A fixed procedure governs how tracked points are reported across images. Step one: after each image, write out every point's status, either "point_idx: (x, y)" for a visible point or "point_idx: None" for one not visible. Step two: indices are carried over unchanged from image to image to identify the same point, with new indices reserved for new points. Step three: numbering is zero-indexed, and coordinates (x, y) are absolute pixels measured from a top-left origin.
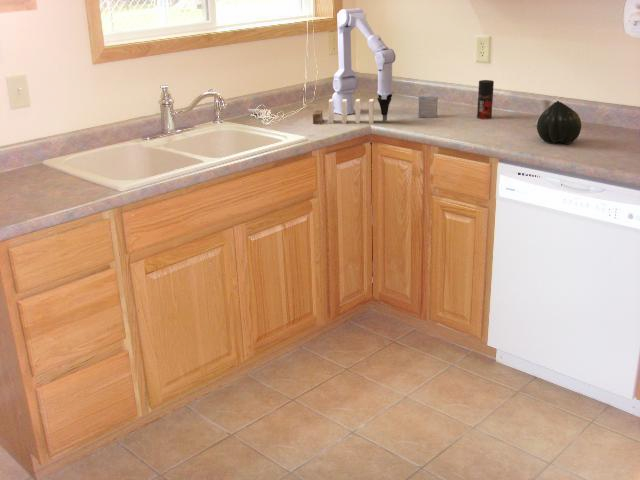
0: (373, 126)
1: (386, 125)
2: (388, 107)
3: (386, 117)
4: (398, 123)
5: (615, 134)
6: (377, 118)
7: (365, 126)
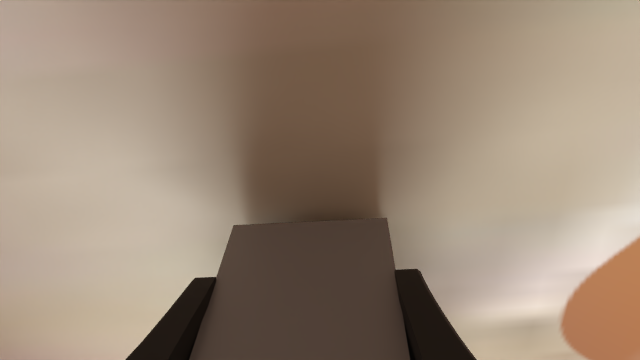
0: (527, 299)
1: (496, 192)
2: (188, 325)
3: (390, 249)
4: (384, 58)
5: None
6: (157, 297)
7: (516, 352)
